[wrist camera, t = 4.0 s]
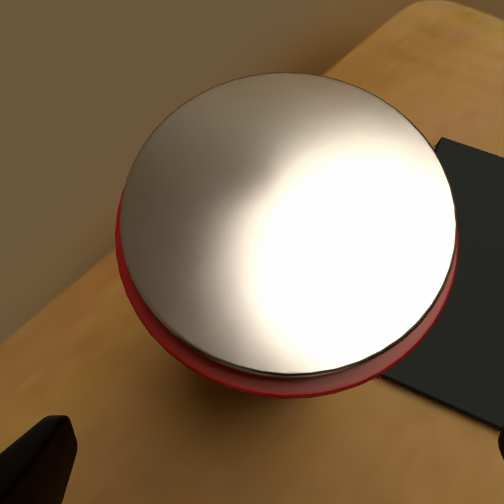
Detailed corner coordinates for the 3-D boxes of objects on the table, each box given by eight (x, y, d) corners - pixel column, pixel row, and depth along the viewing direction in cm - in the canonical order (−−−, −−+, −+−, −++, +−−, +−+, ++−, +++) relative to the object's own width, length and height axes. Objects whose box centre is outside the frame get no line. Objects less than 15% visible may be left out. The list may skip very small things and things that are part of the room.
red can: (354, 291, 20) (513, 121, 7) (306, 417, 18) (415, 483, 5) (238, 243, 21) (205, 22, 8) (181, 357, 19) (26, 291, 6)
